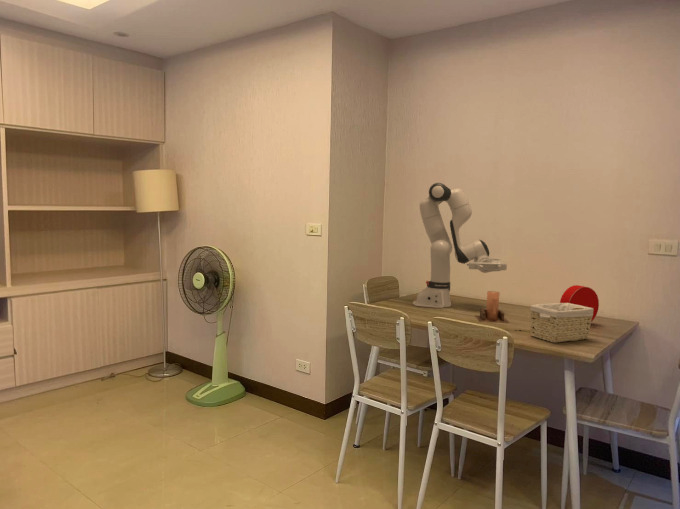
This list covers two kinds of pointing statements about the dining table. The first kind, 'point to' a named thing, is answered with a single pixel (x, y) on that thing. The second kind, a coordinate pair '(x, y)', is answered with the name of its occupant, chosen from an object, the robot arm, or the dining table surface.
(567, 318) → the storage basket
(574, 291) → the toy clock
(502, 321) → the walnut stand
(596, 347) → the dining table surface
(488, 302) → the orange rectangular block
